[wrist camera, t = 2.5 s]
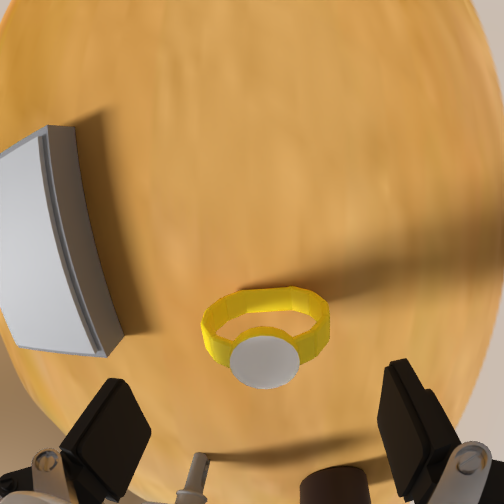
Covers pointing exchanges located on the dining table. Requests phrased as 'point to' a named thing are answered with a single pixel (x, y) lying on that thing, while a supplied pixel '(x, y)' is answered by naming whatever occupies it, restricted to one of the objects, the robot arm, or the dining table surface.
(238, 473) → the dining table surface
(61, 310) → the stand
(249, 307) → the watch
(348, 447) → the dining table surface
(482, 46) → the dining table surface
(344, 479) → the bottle
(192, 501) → the mechanical component
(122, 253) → the dining table surface
